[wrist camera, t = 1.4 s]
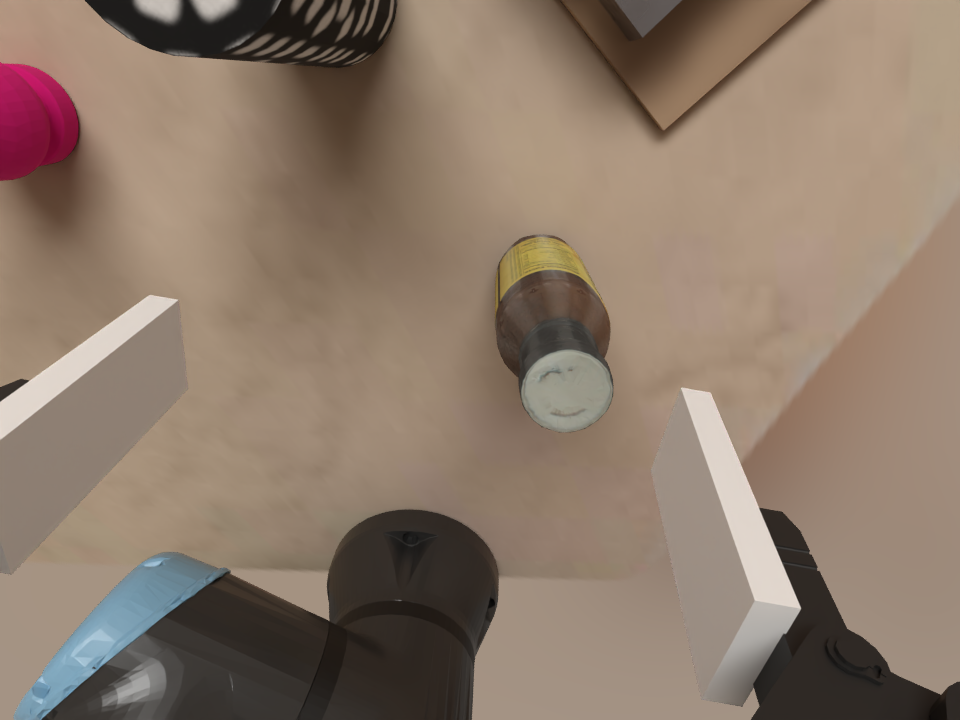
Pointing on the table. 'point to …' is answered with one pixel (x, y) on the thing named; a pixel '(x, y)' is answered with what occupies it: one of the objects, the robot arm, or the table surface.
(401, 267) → the table surface
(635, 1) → the bottle socket
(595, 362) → the sauce bottle
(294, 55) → the spotted tube
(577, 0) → the caddy board
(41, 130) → the pepper mill
